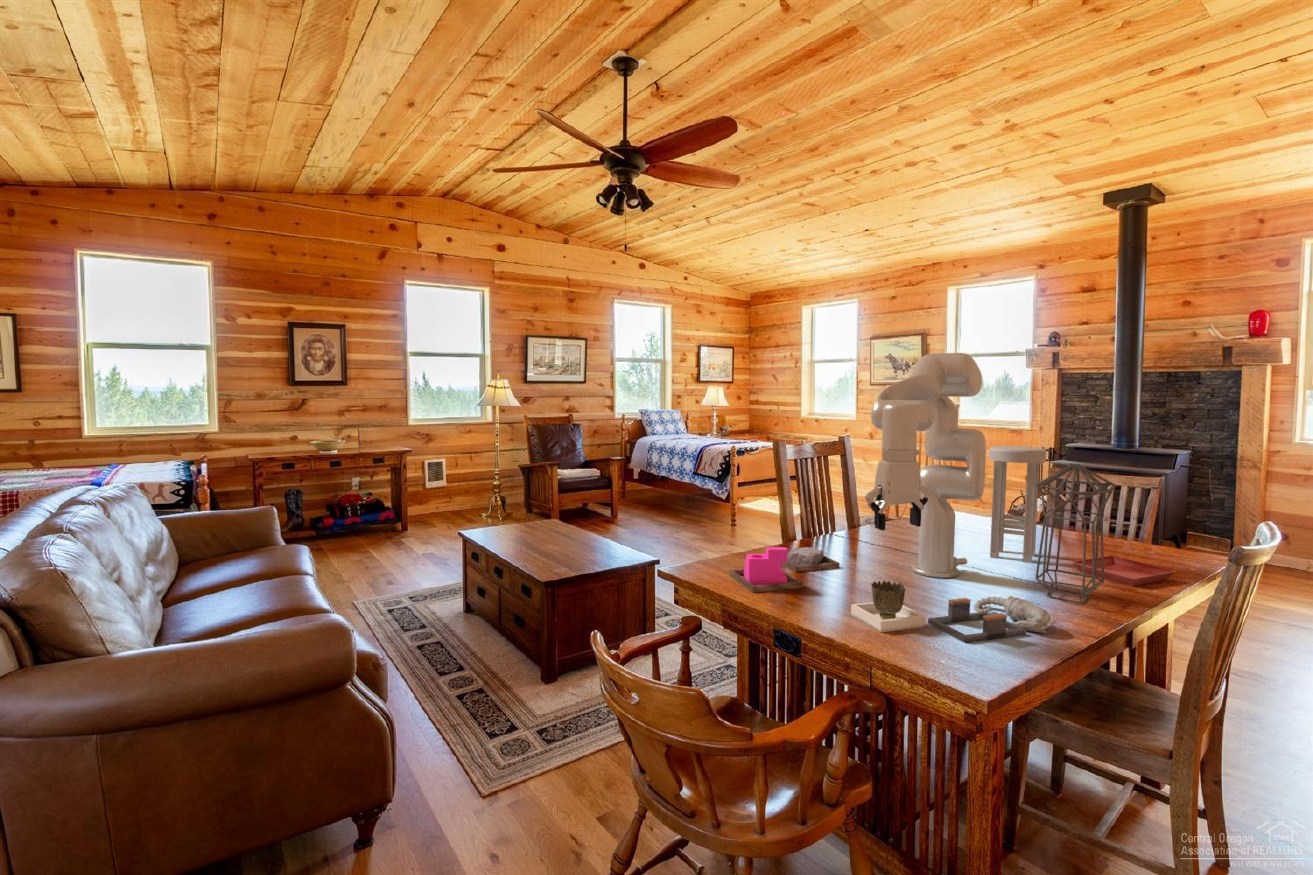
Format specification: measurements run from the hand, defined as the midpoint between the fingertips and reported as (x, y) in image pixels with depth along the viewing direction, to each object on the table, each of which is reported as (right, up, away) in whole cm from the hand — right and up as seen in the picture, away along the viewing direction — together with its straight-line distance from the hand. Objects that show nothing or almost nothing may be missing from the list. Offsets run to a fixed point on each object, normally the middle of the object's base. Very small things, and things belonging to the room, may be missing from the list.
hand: (897, 527), depth 153 cm
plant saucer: (+77, -19, +33) cm, 86 cm away
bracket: (-27, -19, +28) cm, 43 cm away
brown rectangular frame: (-12, -18, +47) cm, 51 cm away
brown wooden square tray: (-27, -19, +28) cm, 43 cm away
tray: (-3, -22, -2) cm, 22 cm away
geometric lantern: (+49, -20, +14) cm, 55 cm away
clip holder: (+15, -22, -8) cm, 27 cm away
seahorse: (+26, -22, -2) cm, 34 cm away
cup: (-3, -21, -2) cm, 22 cm away
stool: (+57, -17, +54) cm, 81 cm away
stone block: (-12, -18, +47) cm, 51 cm away
